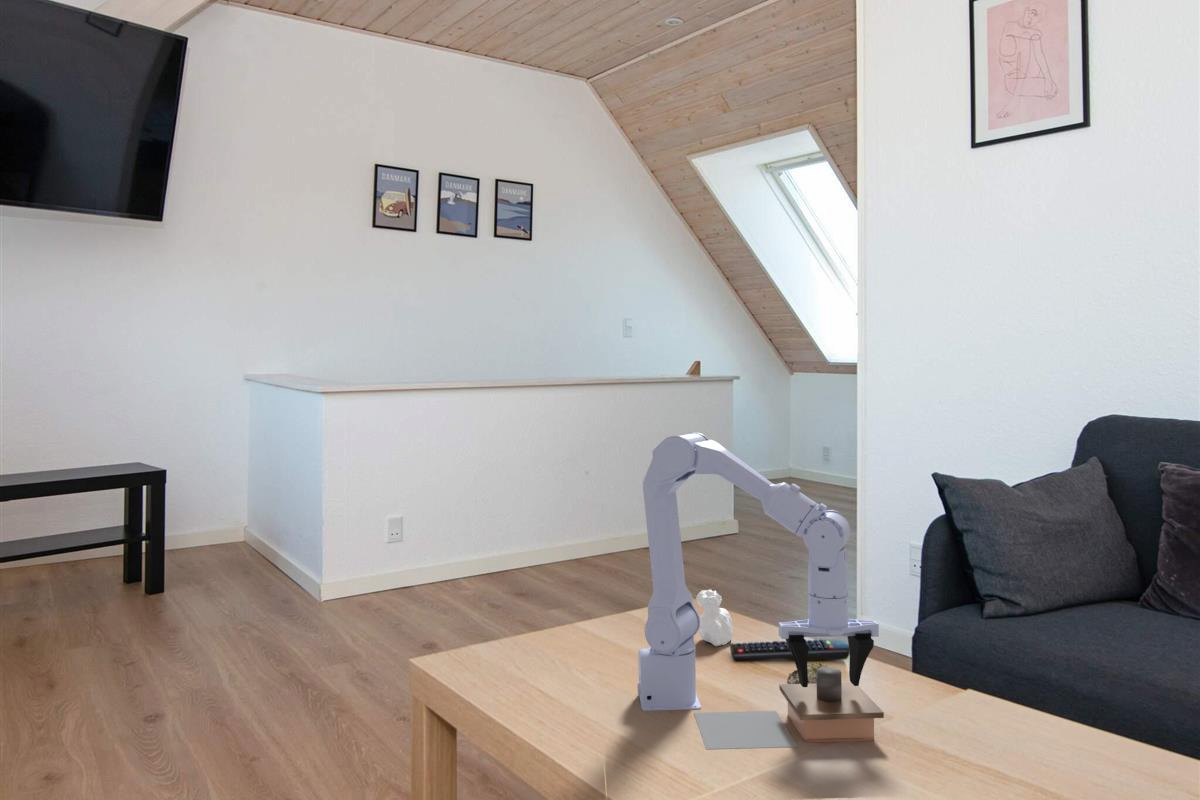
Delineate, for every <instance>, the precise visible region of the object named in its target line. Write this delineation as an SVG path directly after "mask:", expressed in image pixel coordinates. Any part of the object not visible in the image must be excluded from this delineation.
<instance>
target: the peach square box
mask: <svg viewBox="0 0 1200 800" xmlns="http://www.w3.org/2000/svg"><path fill="white" fill-rule="evenodd" d="M787 717H789V719H790V720H791V723H792V724H793V725H794V727H795V728H796V730H797V731H798V733H799V735H800V736H801V738H802V740H803V741H804V742H805V743H825V742H826V743H827V742H828V743H829V742H857V741H859V742H861V741H862V742H863V741H867V740H869V741H875V718H865V719H831V720H800V719H799V717H798V716H797V715H796V713H795V712H794V710H793V709H792V707H791V706H790V704H789V703H788V702H787Z"/></svg>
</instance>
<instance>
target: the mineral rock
mask: <svg viewBox="0 0 1200 800" xmlns="http://www.w3.org/2000/svg"><path fill="white" fill-rule="evenodd" d="M822 667H828V665H826V664H823V663H820V662H817V661H816V662H814V663H813V662H812V663H809V664H807V673H808V684H812V683H817V673H816V670H817V669H818V668H822ZM787 684H800V683H799V676H798V671H797V669H795V670H793V671H792V672H790V673H789V674H788V677H787Z"/></svg>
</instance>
